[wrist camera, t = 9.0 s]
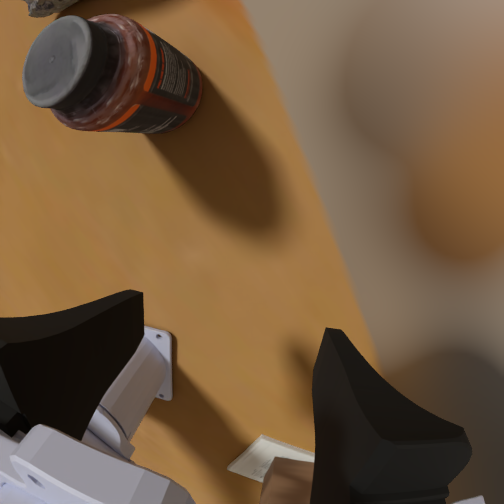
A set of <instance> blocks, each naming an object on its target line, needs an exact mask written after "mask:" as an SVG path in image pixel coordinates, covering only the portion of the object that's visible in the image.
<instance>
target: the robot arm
mask: <svg viewBox="0 0 504 504" xmlns="http://www.w3.org/2000/svg"><path fill="white" fill-rule="evenodd" d="M158 334H159V335H161V336H162V337H159V336H158ZM155 397H156V398H160V399H163V400H167V401H170V400H171V399H172V397H173V392H172V337H171V334H170V333H169V332H167V331H163V330H159V329H155V328H151V327H148V326H144V307H143V292H139V291H135V290H131V289H129V290H125V291H122V292H118V293H115V294H112V295H110V296H107V297H104V298H101V299H98V300H96V301H93V302H90V303H87V304H83V305H80V306H77V307H74V308H71V309H67V310H63V311H59V312H54V313H50V314H44V315H36V316H28V317H13V318H0V504H196V503H195V502H194V500H193V499H192V497H191V495H190V494H189V492H188V491H187V490H186V489H185V488H184V487H182V486H181V485H179V484H178V483H176V482H175V481H173V480H172V479H170V478H169V477H166V476H164V475H162V474H159V473H157V472H155V471H152V470H150V469H148V468H145V467H142V466H140V465H137V464H135V462H134V461H132V460H130V457H131V456H132V454H133V452H134V450H135V447H134V446H133V445H131V444H130V441H131V439H132V437H133V435H134V434H135V432H136V430H137V428H138V426H139V425H140V423H141V421H142V419H143V417H144V416H145V414H146V412H147V410H148V409H149V407H150V405H151V403H152V401H153V400H154V398H155ZM312 397H313V411H314V425H315V459H314V471H313V480H312V489H311V496H310V504H446V502H445V498H447V497H448V496H449V490H448V486H447V485H448V484H449V483H450V482H451V481H452V480H453V479H454V478H455V477H456V476H457V475H458V474H459V473H460V472H461V471H462V470H463V469H464V467H465V466H466V465H467V463H468V462H469V460H470V458H471V455H472V447H471V445H470V442H469V440H468V438H467V436H466V433H465V431H464V428H463V427H460V426H458V425H456V424H453V423H451V422H448V421H446V420H444V419H441V418H439V417H437V416H435V415H434V414H432V413H430V412H428V411H426V410H424V409H423V408H421V407H419V406H418V405H416V404H415V403H413V402H412V401H410V400H409V399H408V398H406V397H405V396H403V395H402V394H401V393H399V392H398V391H397V390H396V389H394V388H393V387H392V386H391V385H390V384H389V383H388V382H386V381H385V380H384V379H383V378H382V377H381V376H380V375H379V374H378V373H377V372H376V371H375V370H374V369H373V368H372V367H371V365H370V364H369V363H368V362H367V361H366V360H365V359H364V357H363V356H362V355H361V354H360V353H359V351H358V350H357V349H356V348H355V346H354V345H353V344H352V342H351V341H350V340H349V339H348V337H347V336H346V335H345V333H344V332H343V331H342V330H340V329H333V328H326V329H325V332H324V336H323V339H322V342H321V346H320V349H319V353H318V356H317V359H316V362H315V366H314V369H313V383H312ZM452 504H485V502H484V499H483V496H477V497H473V498H469V499H464V500H460V501H457V502H454V503H452Z"/></svg>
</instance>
